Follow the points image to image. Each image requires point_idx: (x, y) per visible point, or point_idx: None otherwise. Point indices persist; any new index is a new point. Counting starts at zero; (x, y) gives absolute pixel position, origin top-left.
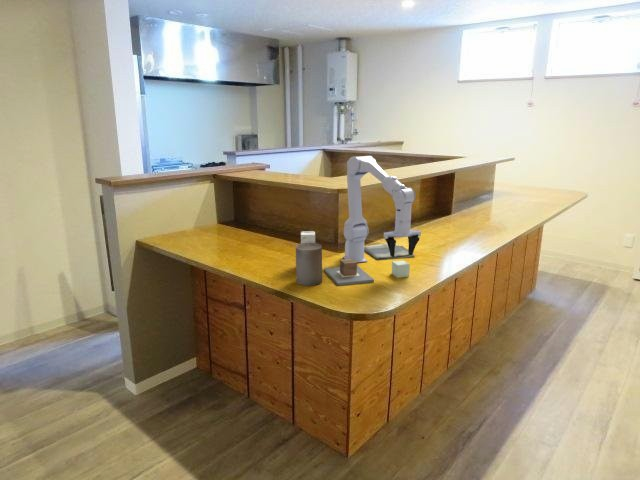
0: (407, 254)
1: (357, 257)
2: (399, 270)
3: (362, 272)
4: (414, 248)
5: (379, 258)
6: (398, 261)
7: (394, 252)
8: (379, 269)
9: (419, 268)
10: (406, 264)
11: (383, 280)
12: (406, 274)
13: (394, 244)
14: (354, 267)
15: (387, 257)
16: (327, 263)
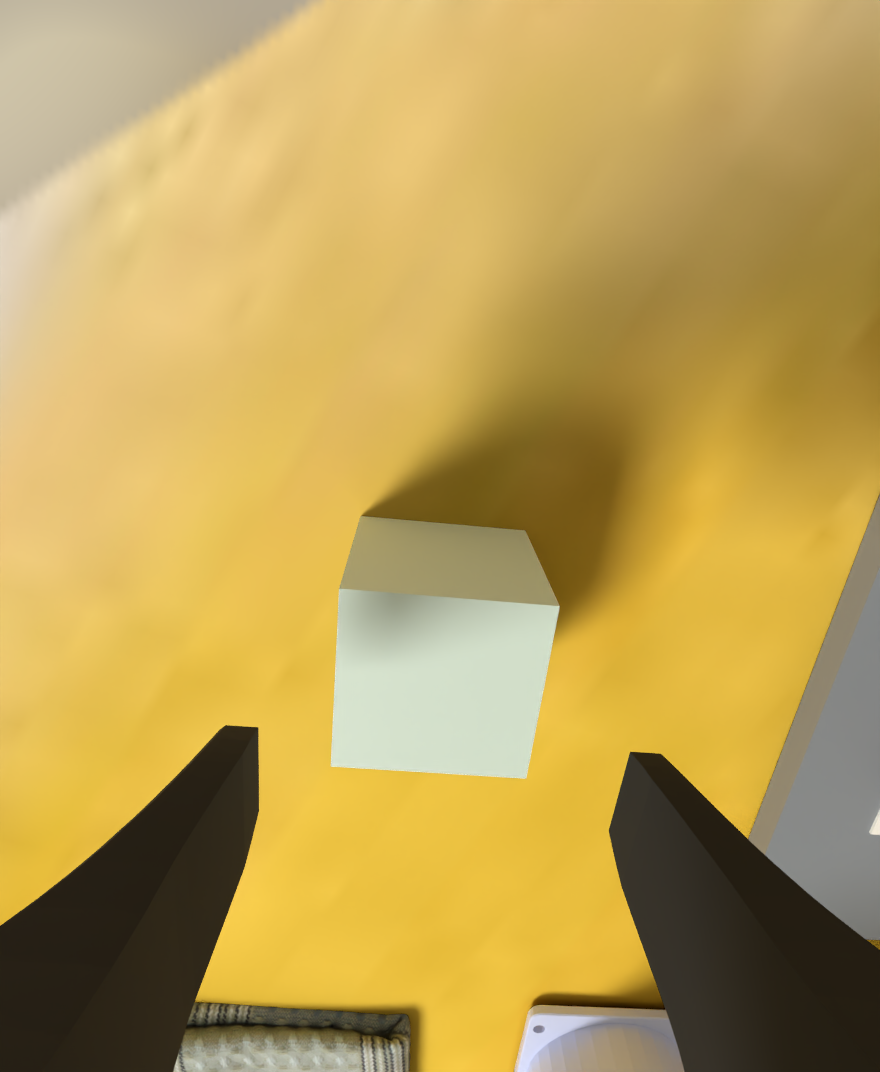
0: None
1: (643, 1068)
2: (511, 564)
3: (843, 745)
4: (126, 825)
5: (381, 1035)
6: (438, 751)
7: (681, 809)
8: (549, 810)
9: (94, 712)
10: (401, 593)
11: (741, 498)
12: (398, 530)
13: (862, 1015)
14: None
15: (297, 1034)
16: None
